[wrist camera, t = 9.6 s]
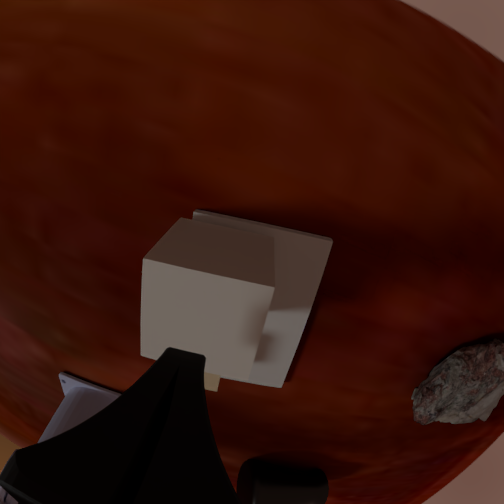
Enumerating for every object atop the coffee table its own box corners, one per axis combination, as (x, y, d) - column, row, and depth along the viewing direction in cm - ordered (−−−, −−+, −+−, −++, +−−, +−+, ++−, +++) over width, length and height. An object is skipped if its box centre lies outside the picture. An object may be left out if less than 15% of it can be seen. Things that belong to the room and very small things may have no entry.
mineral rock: (531, 337, 21) (552, 362, 17) (491, 395, 24) (506, 422, 20) (437, 319, 20) (462, 355, 16) (391, 393, 23) (404, 431, 19)
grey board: (281, 382, 23) (281, 417, 19) (178, 362, 22) (166, 395, 19) (331, 238, 18) (344, 263, 15) (196, 209, 18) (178, 228, 14)
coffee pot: (251, 449, 26) (327, 449, 28) (218, 488, 35) (273, 489, 37) (255, 516, 20) (339, 509, 22) (219, 532, 29) (277, 531, 30)
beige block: (253, 315, 19) (247, 380, 14) (171, 297, 19) (140, 355, 14) (274, 237, 17) (274, 287, 12) (180, 217, 17) (143, 258, 12)
